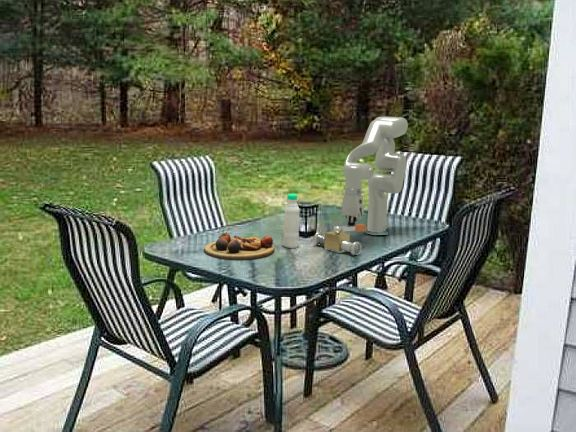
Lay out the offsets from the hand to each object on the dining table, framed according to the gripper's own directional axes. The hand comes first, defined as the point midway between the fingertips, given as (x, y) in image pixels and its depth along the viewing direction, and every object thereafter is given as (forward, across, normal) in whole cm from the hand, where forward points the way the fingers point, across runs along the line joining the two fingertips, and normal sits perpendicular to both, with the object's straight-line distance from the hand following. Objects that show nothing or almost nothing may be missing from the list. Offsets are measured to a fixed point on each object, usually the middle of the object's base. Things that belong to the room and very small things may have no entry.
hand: (351, 229), depth 294 cm
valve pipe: (+8, 0, +10) cm, 13 cm away
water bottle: (+8, +18, +22) cm, 30 cm away
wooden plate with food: (+9, +27, +45) cm, 54 cm away
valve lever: (0, -2, +4) cm, 5 cm away
